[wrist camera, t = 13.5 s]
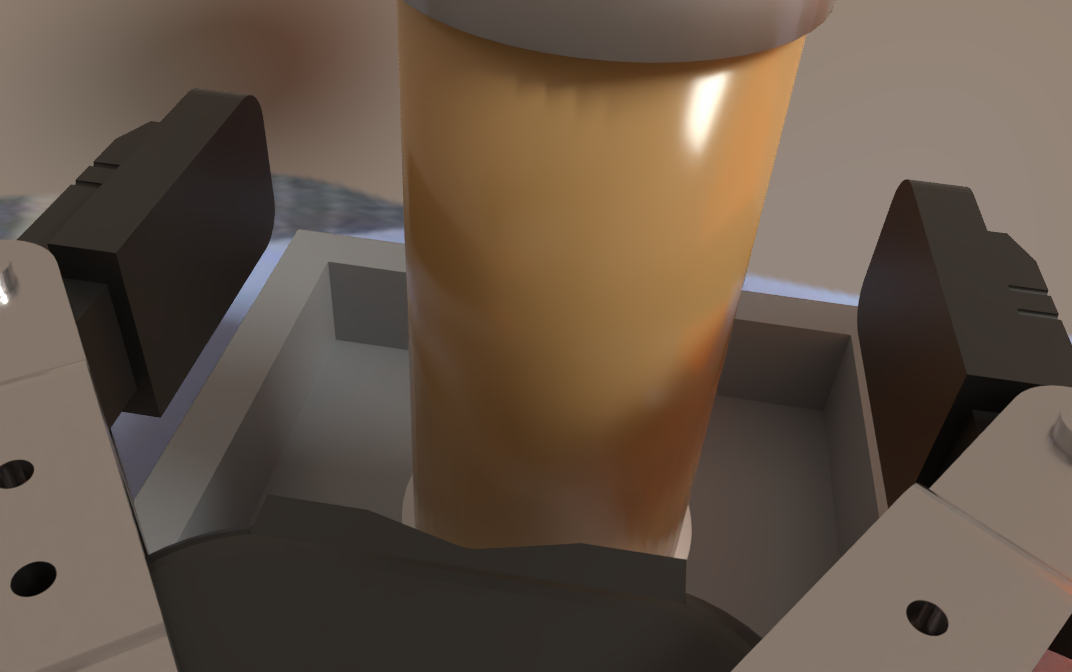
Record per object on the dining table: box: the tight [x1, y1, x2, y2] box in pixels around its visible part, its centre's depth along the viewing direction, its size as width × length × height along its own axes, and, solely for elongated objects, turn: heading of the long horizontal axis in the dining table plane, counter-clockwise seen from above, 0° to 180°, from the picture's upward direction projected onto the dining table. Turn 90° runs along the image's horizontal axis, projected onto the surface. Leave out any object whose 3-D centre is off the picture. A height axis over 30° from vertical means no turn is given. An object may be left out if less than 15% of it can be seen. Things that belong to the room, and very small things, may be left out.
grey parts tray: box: [133, 229, 888, 638], centre depth 17 cm, size 13×13×3 cm
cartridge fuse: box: [397, 0, 836, 559], centre depth 13 cm, size 5×5×13 cm
